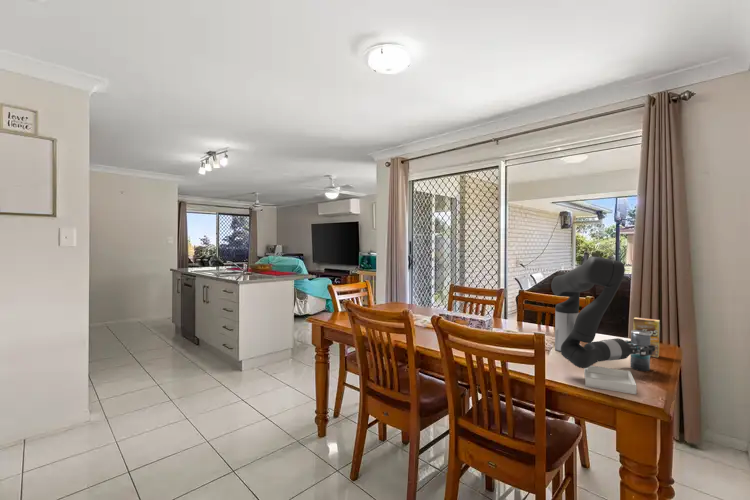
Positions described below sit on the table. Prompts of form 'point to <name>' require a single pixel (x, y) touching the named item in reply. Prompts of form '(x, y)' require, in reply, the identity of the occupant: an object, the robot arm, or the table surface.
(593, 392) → the table surface
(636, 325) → the candy box
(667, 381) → the table surface
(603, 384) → the tray
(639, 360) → the tin
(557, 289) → the robot arm
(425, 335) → the table surface
